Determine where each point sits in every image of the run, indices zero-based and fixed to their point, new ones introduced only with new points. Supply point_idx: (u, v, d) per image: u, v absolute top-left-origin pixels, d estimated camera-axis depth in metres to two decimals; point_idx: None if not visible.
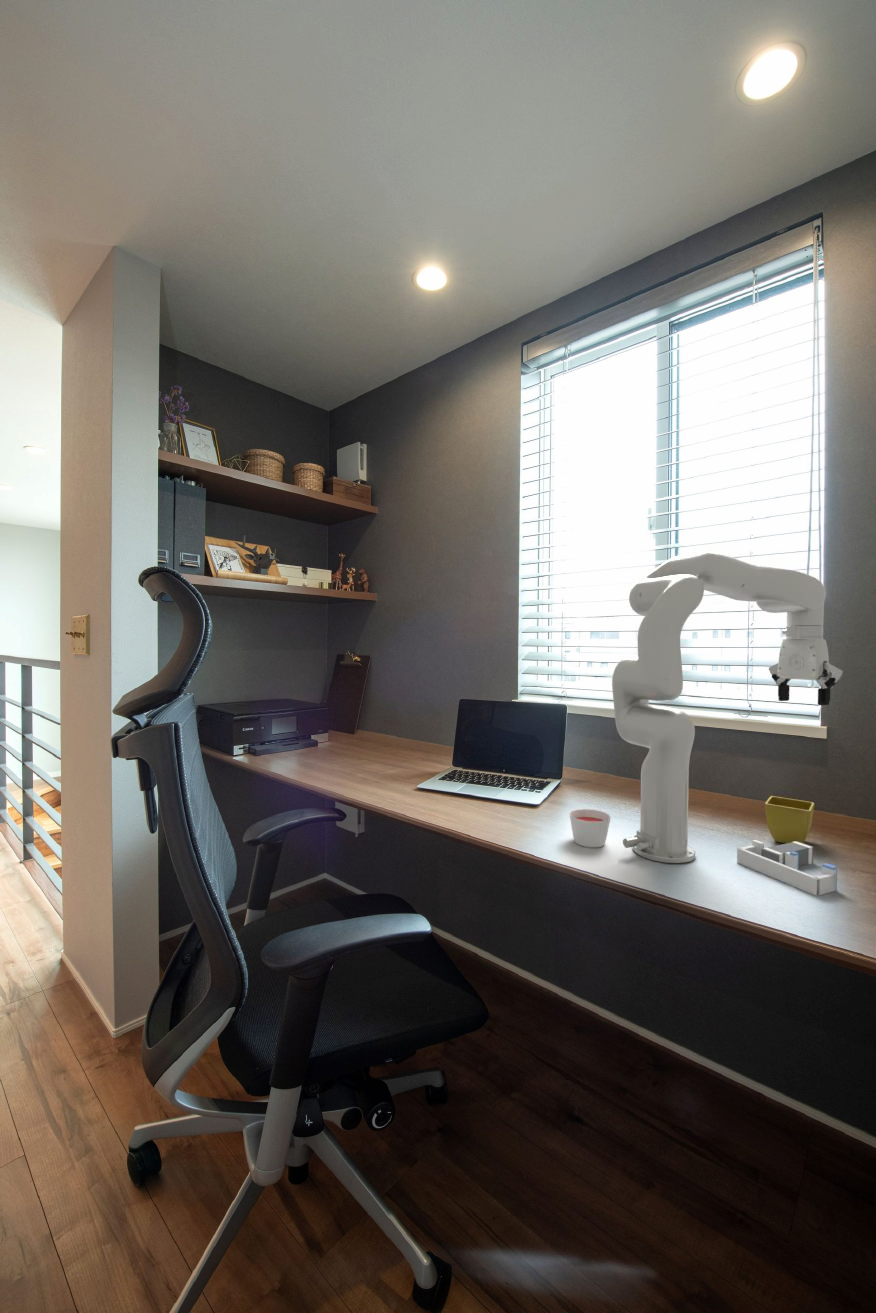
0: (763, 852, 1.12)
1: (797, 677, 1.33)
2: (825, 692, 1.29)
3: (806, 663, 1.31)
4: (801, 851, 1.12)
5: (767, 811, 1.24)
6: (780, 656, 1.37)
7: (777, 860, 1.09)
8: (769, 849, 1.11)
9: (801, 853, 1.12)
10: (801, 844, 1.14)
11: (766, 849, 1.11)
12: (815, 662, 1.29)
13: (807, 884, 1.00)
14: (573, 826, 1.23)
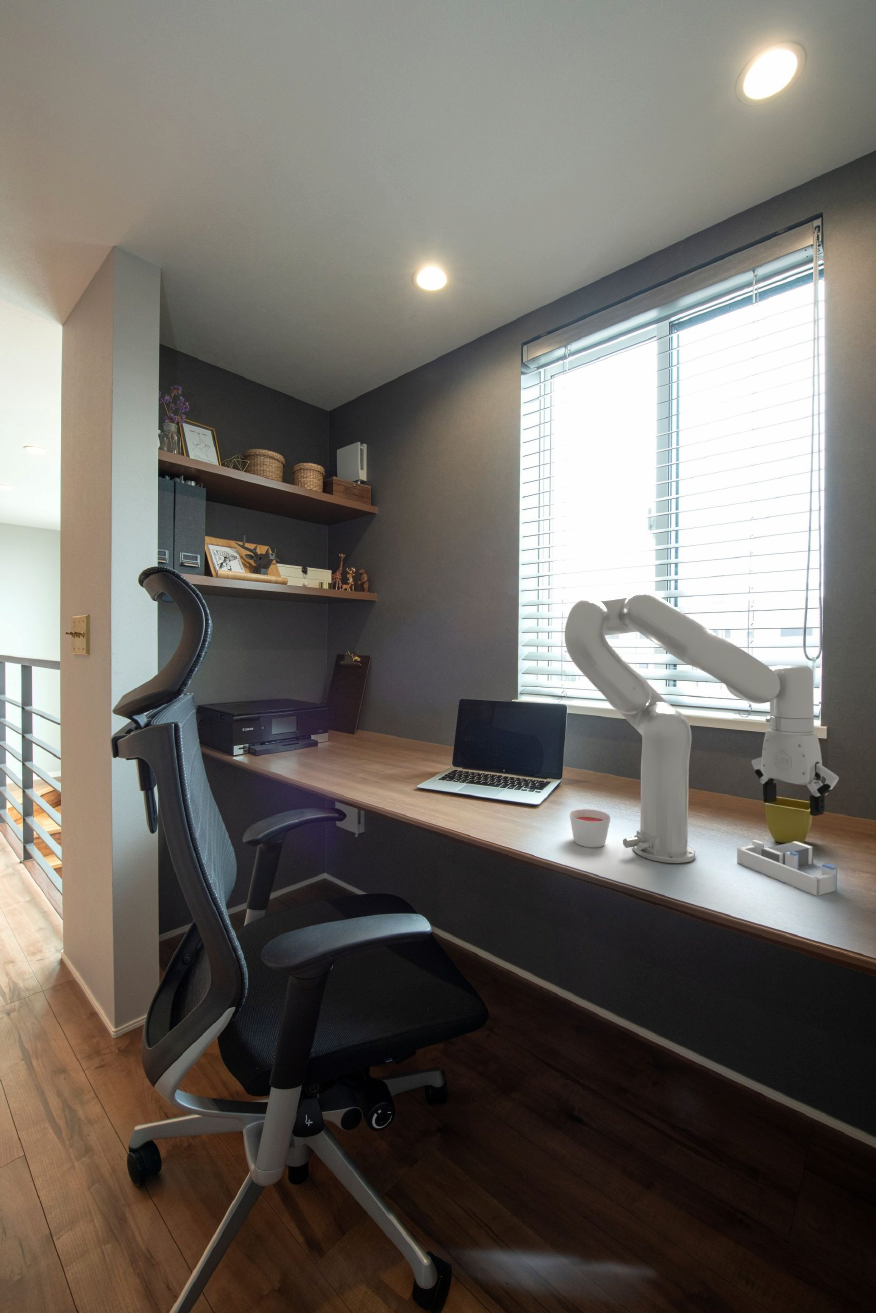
0: (763, 852, 1.12)
1: (784, 779, 1.11)
2: (818, 800, 1.06)
3: (794, 764, 1.08)
4: (801, 851, 1.12)
5: (767, 811, 1.24)
6: (764, 750, 1.15)
7: (777, 860, 1.09)
8: (769, 849, 1.11)
9: (801, 853, 1.12)
10: (801, 844, 1.14)
11: (766, 849, 1.11)
12: (805, 764, 1.07)
13: (807, 884, 1.00)
14: (573, 826, 1.23)
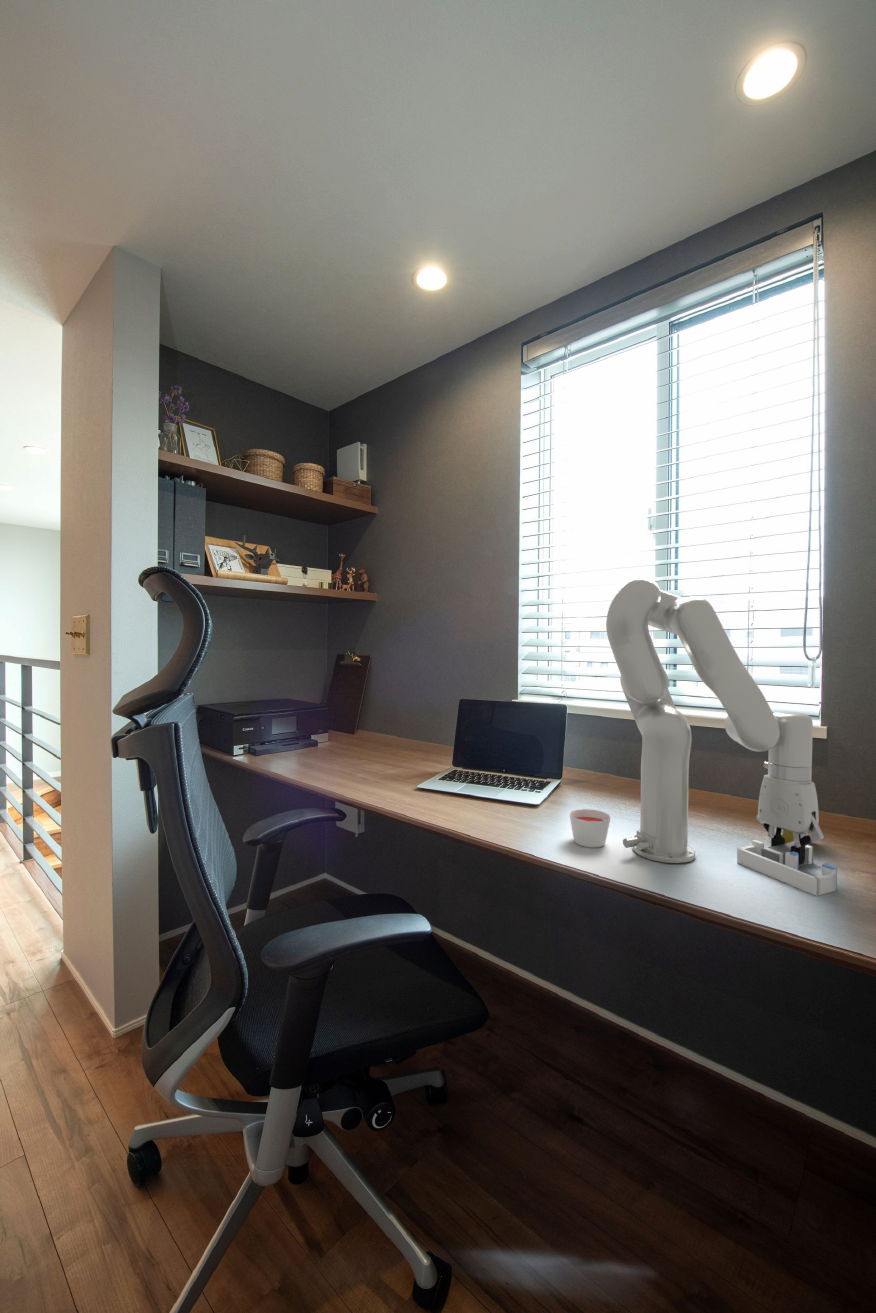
0: (763, 852, 1.12)
1: (780, 826, 1.11)
2: (799, 851, 1.09)
3: (791, 812, 1.09)
4: None
5: None
6: (761, 796, 1.15)
7: (777, 860, 1.09)
8: (769, 849, 1.11)
9: None
10: None
11: (766, 849, 1.11)
12: (801, 813, 1.07)
13: (807, 884, 1.00)
14: (573, 826, 1.23)
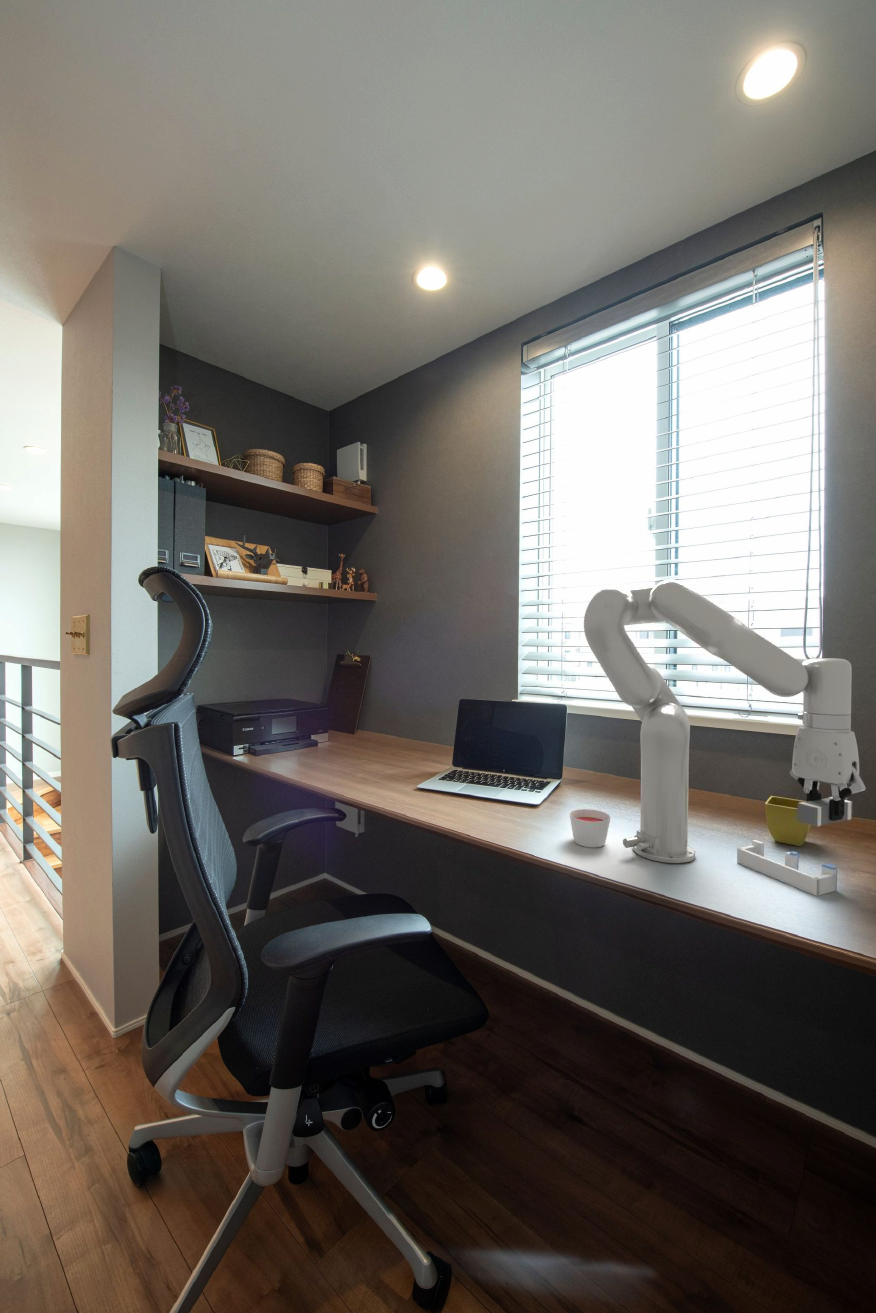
0: (799, 807, 1.05)
1: (818, 779, 1.04)
2: (838, 805, 1.03)
3: (829, 763, 1.02)
4: None
5: (767, 811, 1.24)
6: (795, 748, 1.08)
7: (815, 814, 1.02)
8: (806, 803, 1.05)
9: None
10: None
11: (803, 803, 1.05)
12: (841, 763, 1.00)
13: (807, 884, 1.00)
14: (573, 826, 1.23)
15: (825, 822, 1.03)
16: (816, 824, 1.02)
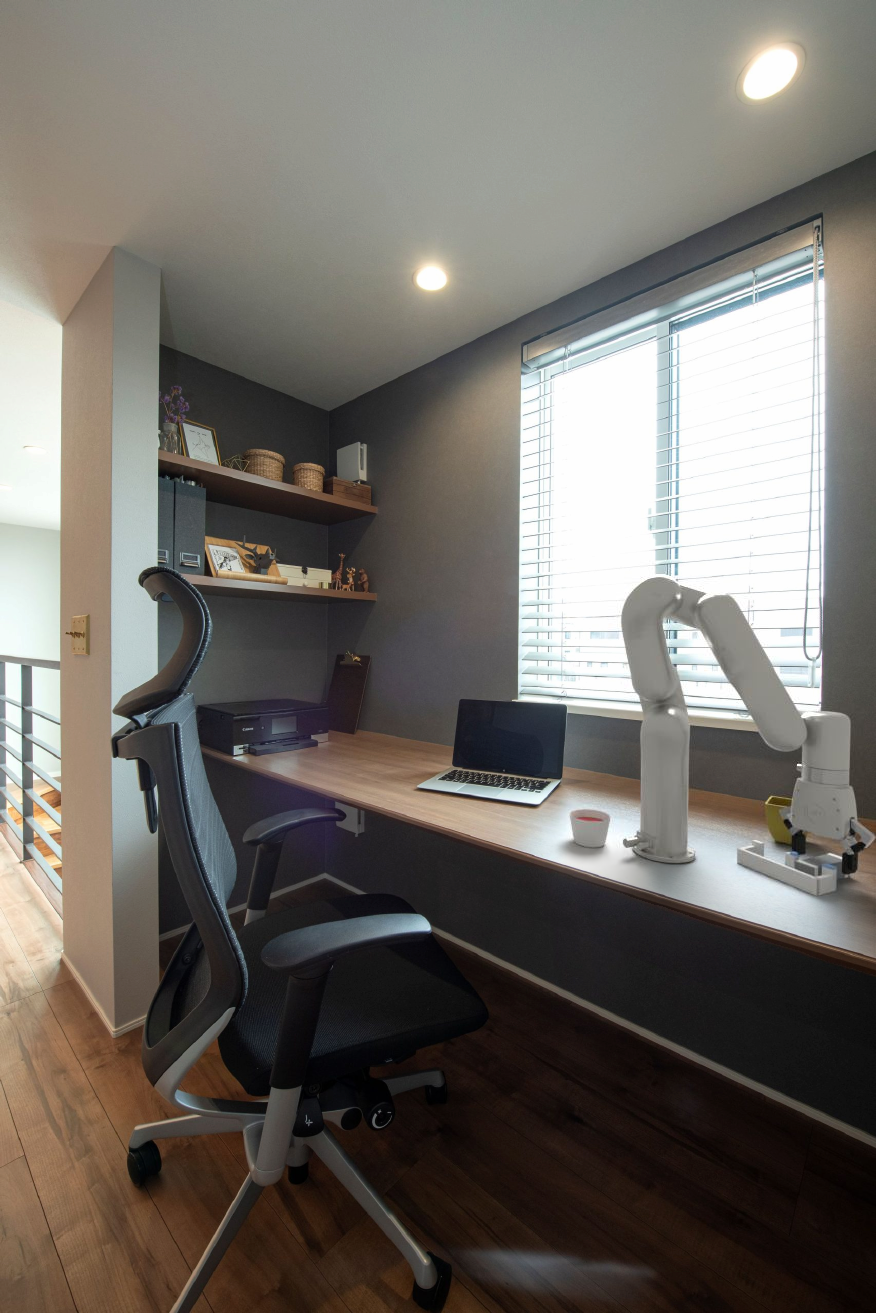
0: (796, 865, 1.05)
1: (816, 833, 1.04)
2: (851, 859, 1.01)
3: (828, 818, 1.02)
4: (837, 864, 1.05)
5: (767, 811, 1.24)
6: (794, 800, 1.09)
7: (812, 874, 1.03)
8: (803, 862, 1.05)
9: (837, 866, 1.05)
10: (836, 856, 1.08)
11: (800, 862, 1.05)
12: (839, 819, 1.01)
13: (807, 884, 1.00)
14: (573, 826, 1.23)
15: None
16: None
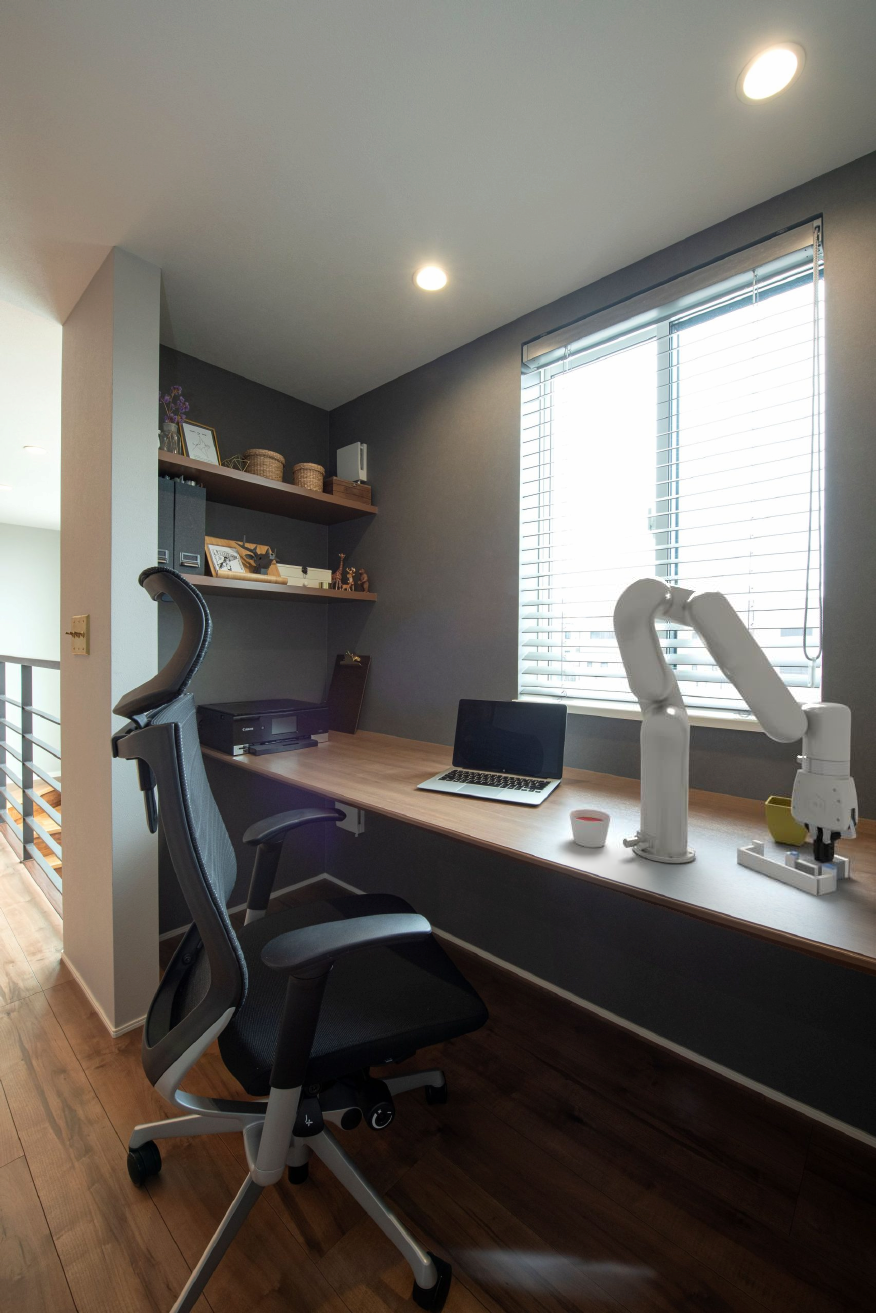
0: (796, 865, 1.05)
1: (816, 824, 1.04)
2: (828, 847, 1.04)
3: (828, 809, 1.02)
4: (837, 864, 1.05)
5: (767, 811, 1.24)
6: (794, 792, 1.08)
7: (812, 874, 1.03)
8: (803, 862, 1.05)
9: (837, 866, 1.05)
10: (836, 856, 1.08)
11: (800, 862, 1.05)
12: (840, 810, 1.01)
13: (807, 884, 1.00)
14: (573, 826, 1.23)
15: None
16: None
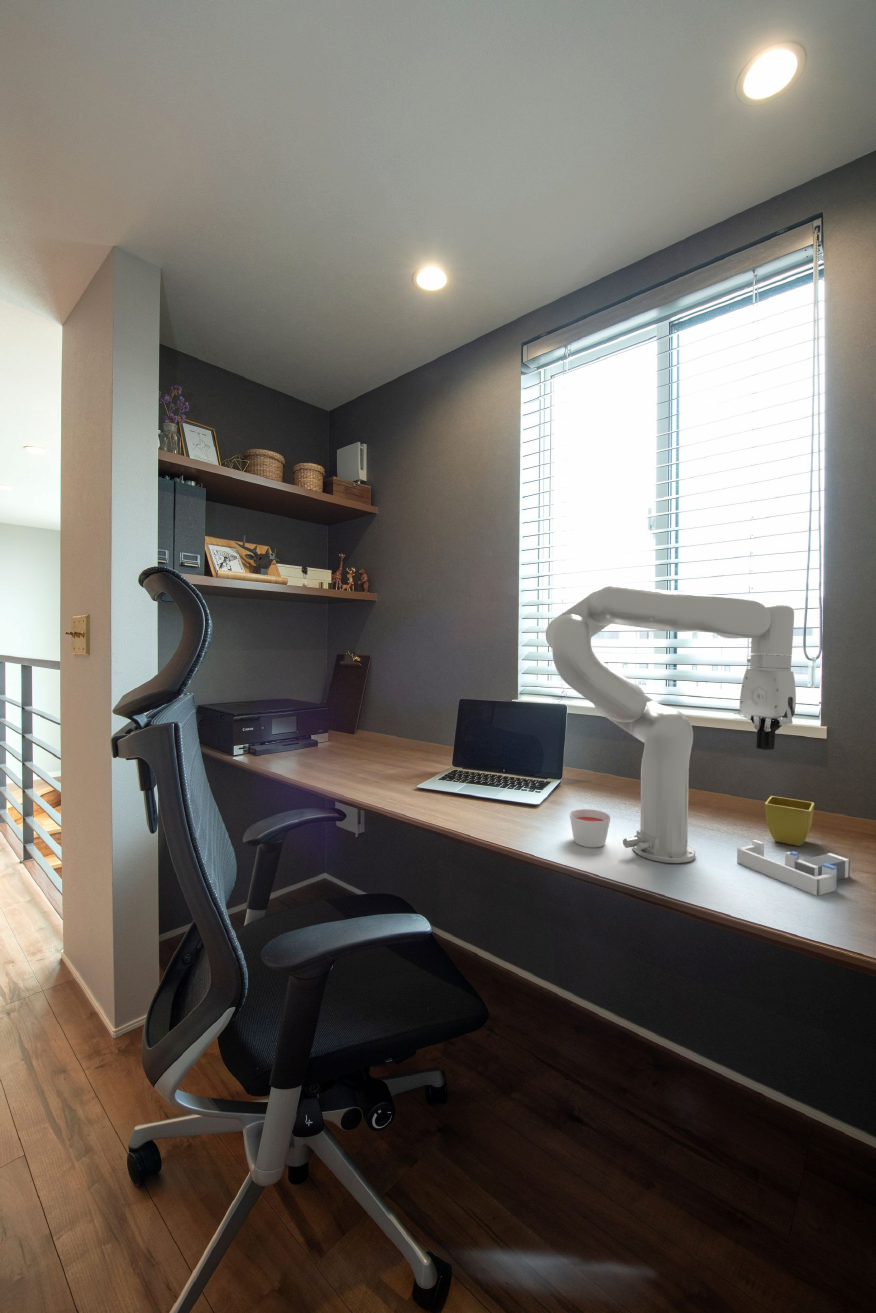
0: (796, 865, 1.05)
1: (759, 713, 1.15)
2: (769, 735, 1.15)
3: (768, 698, 1.13)
4: (837, 864, 1.05)
5: (767, 811, 1.24)
6: (742, 688, 1.19)
7: (812, 874, 1.03)
8: (803, 862, 1.05)
9: (837, 866, 1.05)
10: (836, 856, 1.08)
11: (800, 862, 1.05)
12: (778, 698, 1.11)
13: (807, 884, 1.00)
14: (573, 826, 1.23)
15: None
16: None
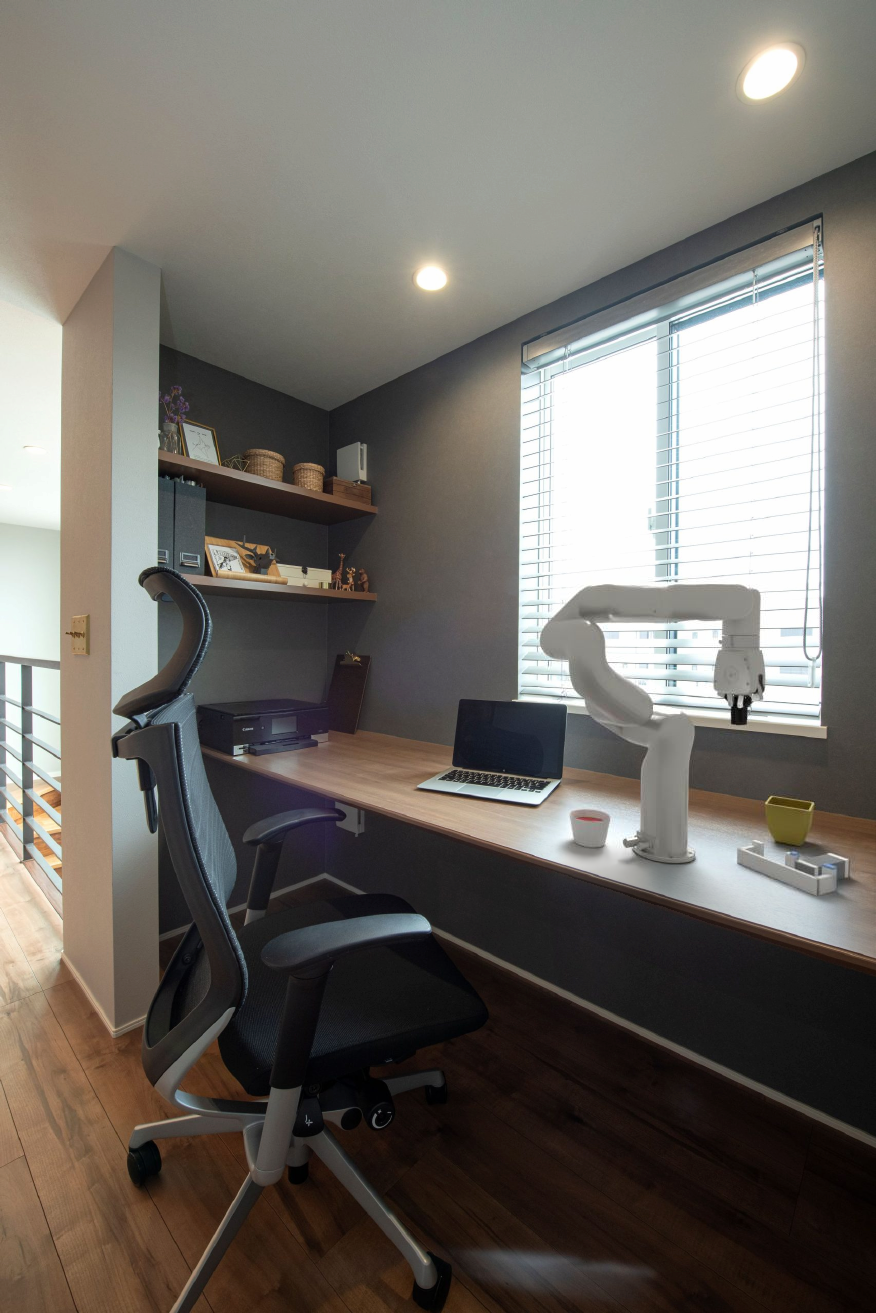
0: (797, 865, 1.05)
1: (732, 691, 1.22)
2: (742, 711, 1.22)
3: (740, 676, 1.20)
4: (837, 864, 1.05)
5: (767, 811, 1.24)
6: (715, 668, 1.26)
7: (812, 874, 1.03)
8: (803, 862, 1.05)
9: (837, 866, 1.05)
10: (837, 856, 1.08)
11: (800, 862, 1.05)
12: (749, 675, 1.18)
13: (807, 884, 1.00)
14: (573, 826, 1.23)
15: None
16: None
